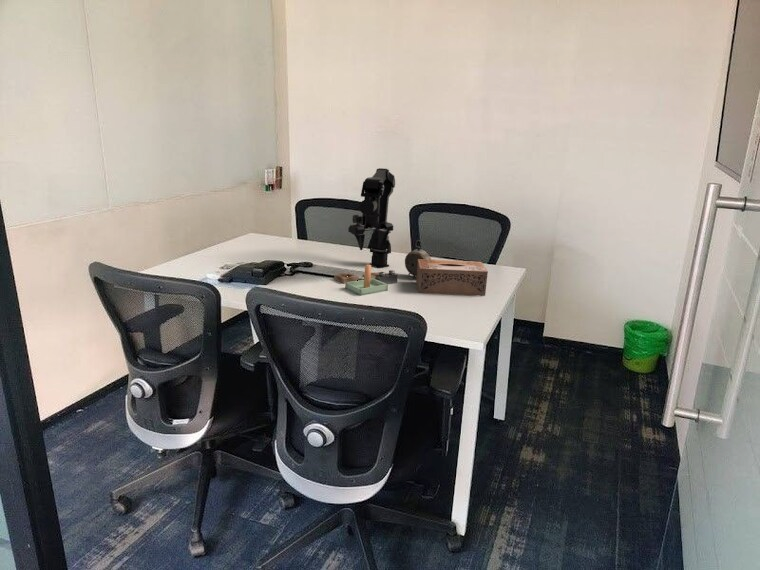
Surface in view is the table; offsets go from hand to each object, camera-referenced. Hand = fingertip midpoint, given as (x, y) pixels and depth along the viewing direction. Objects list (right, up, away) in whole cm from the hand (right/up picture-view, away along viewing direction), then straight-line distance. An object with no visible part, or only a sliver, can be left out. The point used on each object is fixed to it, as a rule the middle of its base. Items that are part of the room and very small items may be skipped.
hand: (370, 248), depth 231 cm
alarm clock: (+19, -12, +8) cm, 24 cm away
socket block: (-10, -13, -1) cm, 16 cm away
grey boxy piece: (+6, -14, -2) cm, 16 cm away
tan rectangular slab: (+3, -13, +2) cm, 14 cm away
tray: (-1, -16, -11) cm, 20 cm away
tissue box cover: (+32, -17, -5) cm, 36 cm away
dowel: (-1, -16, -11) cm, 20 cm away
